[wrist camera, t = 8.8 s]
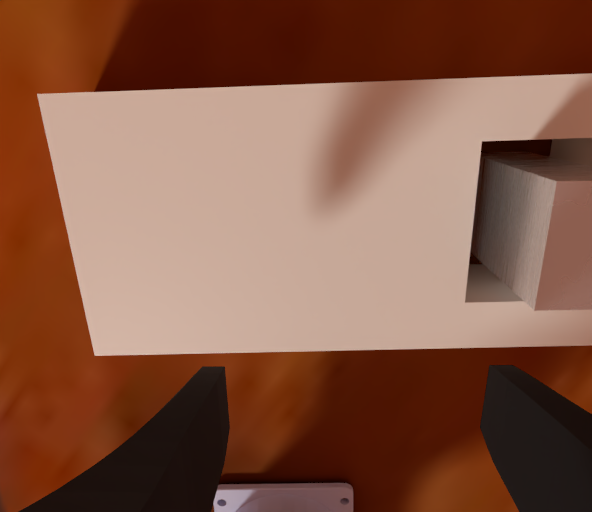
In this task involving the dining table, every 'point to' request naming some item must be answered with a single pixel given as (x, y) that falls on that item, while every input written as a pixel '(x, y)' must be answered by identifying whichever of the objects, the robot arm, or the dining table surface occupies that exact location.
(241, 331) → the pale beige flat-sided block
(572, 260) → the pinkish white rectangular block
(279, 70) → the dining table surface
